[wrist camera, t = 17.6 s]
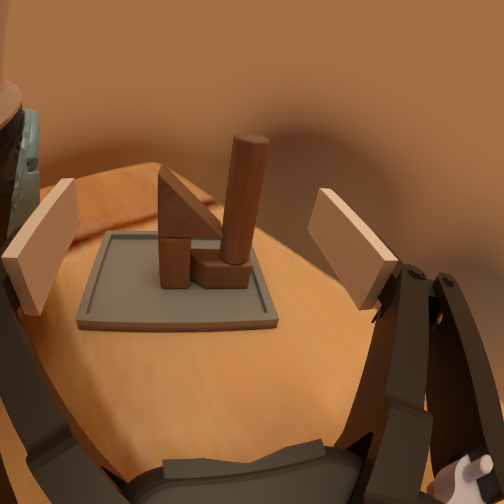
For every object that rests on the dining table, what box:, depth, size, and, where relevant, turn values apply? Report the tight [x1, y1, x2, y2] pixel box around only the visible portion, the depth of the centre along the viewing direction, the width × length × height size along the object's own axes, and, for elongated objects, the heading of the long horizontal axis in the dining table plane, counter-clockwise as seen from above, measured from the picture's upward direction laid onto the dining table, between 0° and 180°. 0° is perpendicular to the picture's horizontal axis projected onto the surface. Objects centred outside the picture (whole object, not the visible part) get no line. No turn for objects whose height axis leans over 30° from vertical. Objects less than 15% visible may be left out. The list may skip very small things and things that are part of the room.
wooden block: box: [158, 133, 270, 288], centre depth 31 cm, size 4×11×18 cm, turn 101°
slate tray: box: [76, 231, 279, 332], centre depth 36 cm, size 22×18×2 cm
